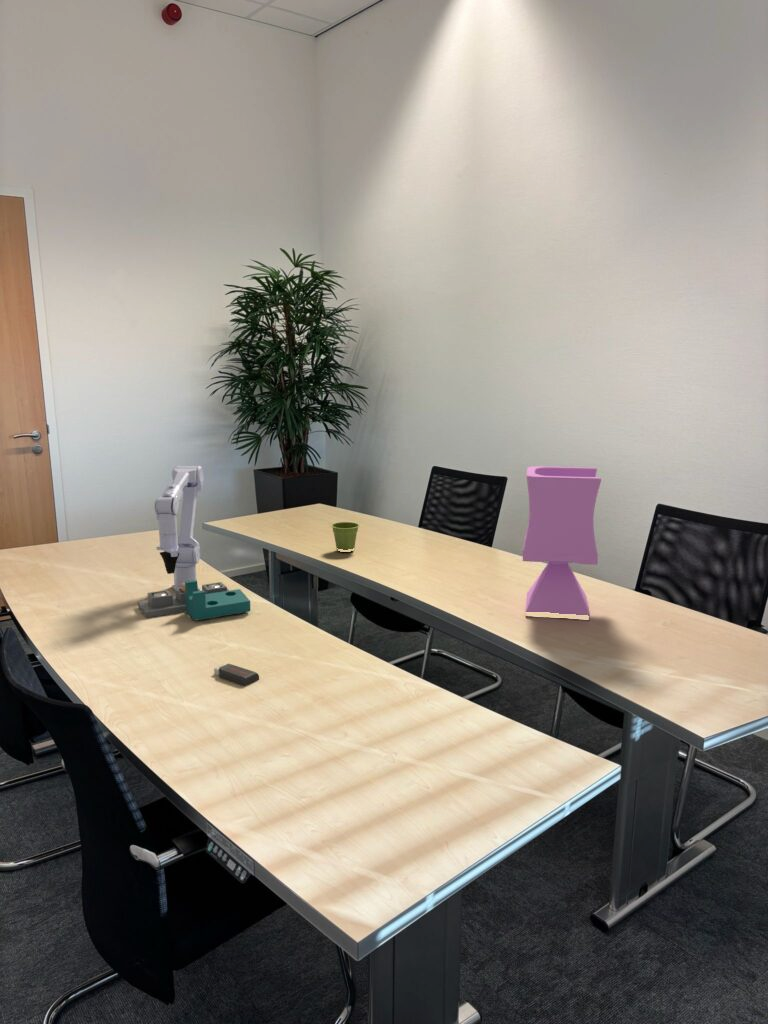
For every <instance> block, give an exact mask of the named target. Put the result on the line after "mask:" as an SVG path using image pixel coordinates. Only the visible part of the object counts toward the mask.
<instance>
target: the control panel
mask: <svg viewBox="0 0 768 1024" xmlns="http://www.w3.org/2000/svg"><path fill="white" fill-rule="evenodd" d="M214 584H217V585H220V587H218V588H211V589H209V588H208V586H209V585H214ZM202 590H204V591H205V594H210V593H217V592H223V591H230V590H229V588H228V587H227V586H226V585H225V584H224V583H223V582H221V581H219V582H211V583H206V584H205V583H204V584H201V589H200V590H199V589H198V591H202ZM174 591H175V593H174V594H175V595H173V594H172V592H170V590H168V589H165V590H157V591H151V592H147V594H146V595H147V599H146V600H141V601H140V600H139V601H137V605H138V606H137V608H138V609H139V610H140V611H142V612H141V613H142V615H143V616H144V615H145V616H144V618H146V619H149V618H148V617H150V618H155V617H154V616H156V617H161V615H162V616H167V615H166V614H168V615H173V613H175V614H180V612H181V613H186V612H185V611H186V600H185V593H182V592H181V588H177V589H174ZM160 592H163V593H166V595H165V596H158V597H154V594H155V593H160Z"/></svg>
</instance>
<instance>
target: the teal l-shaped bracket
mask: <svg viewBox="0 0 768 1024" xmlns="http://www.w3.org/2000/svg"><path fill="white" fill-rule="evenodd" d="M198 587H199V586H198V580H197V579H196V580H192V581H185V600H186V612H185V613H186V614H187V616H188V615H189V616H190V617H191V618H192V619H193V620H194V621H199V620H206V619H212V618H217V617H218V618H219V617H225V616H230V615H236V614H242V613H249V612H251V599H249V598H248V596H247V595H246V594H245V593H244V592H243V591H242V590H241V589H240V588H237V589H232V590H230V591H223V592H217V593H210V594H205V591H204V590H202V589H201V590H200V591H198ZM189 616H188V617H189ZM190 617H189V618H190Z"/></svg>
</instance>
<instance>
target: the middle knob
mask: <svg viewBox="0 0 768 1024" xmlns="http://www.w3.org/2000/svg"><path fill="white" fill-rule="evenodd" d="M181 592H182V593H185V583H182V584H181Z"/></svg>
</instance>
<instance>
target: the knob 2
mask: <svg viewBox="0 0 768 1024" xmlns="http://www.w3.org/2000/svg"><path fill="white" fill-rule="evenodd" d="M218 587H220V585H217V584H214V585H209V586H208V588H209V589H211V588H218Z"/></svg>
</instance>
